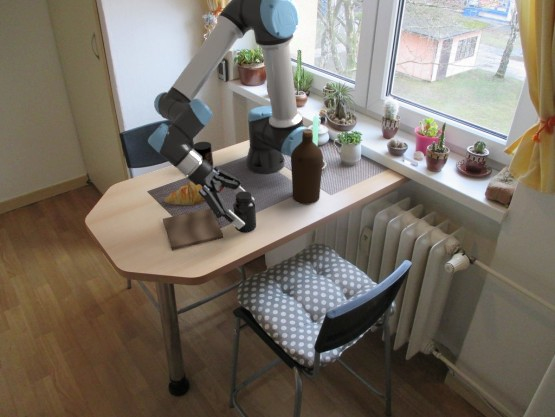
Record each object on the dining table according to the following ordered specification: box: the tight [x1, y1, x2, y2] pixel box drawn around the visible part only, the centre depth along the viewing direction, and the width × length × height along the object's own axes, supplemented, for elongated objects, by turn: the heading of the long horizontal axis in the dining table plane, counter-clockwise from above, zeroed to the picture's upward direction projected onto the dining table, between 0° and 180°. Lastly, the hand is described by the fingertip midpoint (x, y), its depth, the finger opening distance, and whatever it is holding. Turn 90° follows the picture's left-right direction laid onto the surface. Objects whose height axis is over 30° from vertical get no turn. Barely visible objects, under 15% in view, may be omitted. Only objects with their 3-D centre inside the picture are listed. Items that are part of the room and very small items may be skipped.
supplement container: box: [192, 141, 215, 169], centre depth 174 cm, size 7×7×10 cm
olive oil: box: [290, 128, 324, 205], centre depth 153 cm, size 11×11×25 cm
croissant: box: [163, 180, 225, 206], centre depth 159 cm, size 21×10×8 cm, turn 114°
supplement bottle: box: [232, 190, 257, 234], centre depth 142 cm, size 7×7×12 cm
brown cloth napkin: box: [162, 207, 225, 251], centre depth 144 cm, size 16×16×1 cm
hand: (247, 213), depth 142 cm, fingers open, 13 cm apart
